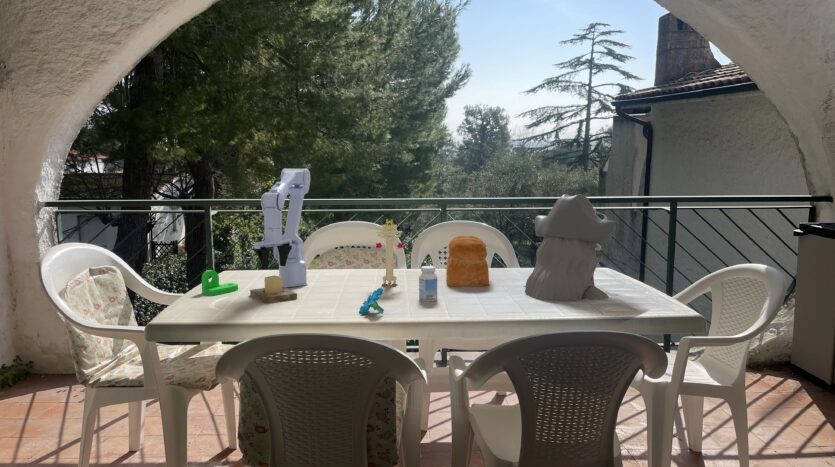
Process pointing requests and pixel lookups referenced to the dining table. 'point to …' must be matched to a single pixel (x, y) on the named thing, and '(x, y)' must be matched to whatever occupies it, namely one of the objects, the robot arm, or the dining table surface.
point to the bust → (568, 251)
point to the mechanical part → (215, 284)
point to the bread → (467, 262)
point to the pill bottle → (428, 284)
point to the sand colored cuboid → (273, 284)
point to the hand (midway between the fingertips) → (274, 267)
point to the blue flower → (372, 302)
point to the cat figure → (389, 249)
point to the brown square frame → (273, 295)
